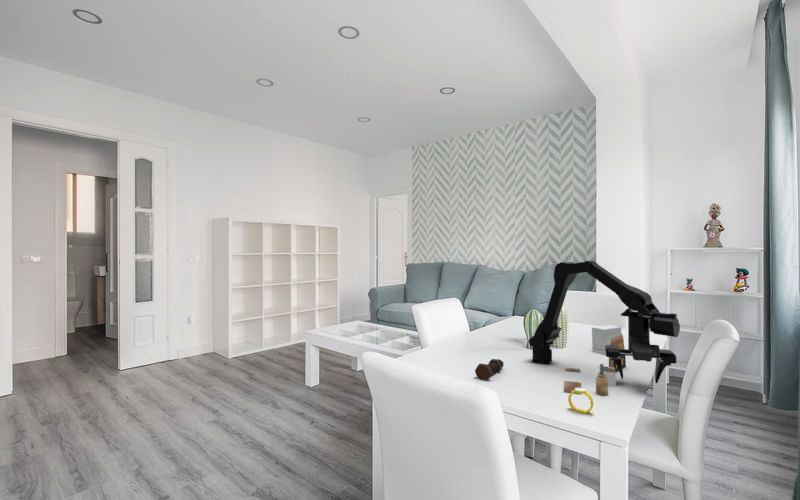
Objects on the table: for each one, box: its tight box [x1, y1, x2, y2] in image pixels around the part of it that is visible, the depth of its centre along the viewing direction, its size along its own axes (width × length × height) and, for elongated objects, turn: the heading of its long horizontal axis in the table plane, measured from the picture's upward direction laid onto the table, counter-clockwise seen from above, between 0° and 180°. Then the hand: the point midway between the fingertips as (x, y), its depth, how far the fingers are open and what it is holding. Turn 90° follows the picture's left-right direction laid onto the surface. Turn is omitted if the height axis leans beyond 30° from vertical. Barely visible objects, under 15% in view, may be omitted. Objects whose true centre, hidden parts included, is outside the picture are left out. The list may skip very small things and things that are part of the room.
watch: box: [567, 387, 594, 414], centre depth 103 cm, size 6×3×6 cm, turn 51°
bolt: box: [474, 358, 505, 381], centre depth 134 cm, size 6×5×15 cm
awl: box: [595, 363, 609, 397], centre depth 115 cm, size 3×3×9 cm
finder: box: [597, 365, 617, 387], centre depth 125 cm, size 5×7×4 cm
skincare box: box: [591, 324, 622, 356], centre depth 161 cm, size 10×6×10 cm, turn 114°
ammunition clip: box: [608, 333, 627, 373], centre depth 137 cm, size 11×2×12 cm, turn 131°
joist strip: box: [563, 367, 583, 395], centre depth 127 cm, size 5×25×1 cm, turn 156°
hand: (638, 380), depth 122 cm, fingers open, 9 cm apart
